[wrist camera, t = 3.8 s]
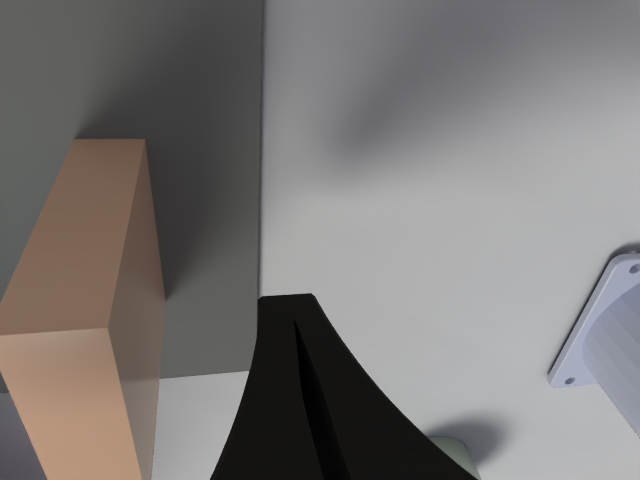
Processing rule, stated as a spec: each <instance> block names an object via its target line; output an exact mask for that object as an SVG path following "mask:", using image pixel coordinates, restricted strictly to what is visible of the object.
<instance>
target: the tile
mask: <svg viewBox="0 0 640 480" xmlns="http://www.w3.org/2000/svg"><path fill="white" fill-rule="evenodd" d="M165 303H166V300H165V292H164V285H163V277H162V269H161V261H160V253H159V245H158V237H157V229H156V222H155V214H154V206H153V198H152V190H151V182H150V174H149V166H148V159H147V151H146V143H145V139H73V141H72V143H71V146H70V148H69V150H68V152H67V155H66V157H65V159H64V161H63V164H62V166H61V168H60V170H59V173H58V175H57V177H56V179H55V181H54V184H53V186H52V188H51V190H50V193H49V195H48V197H47V199H46V202H45V204H44V206H43V208H42V211H41V213H40V215H39V217H38V220H37V222H36V224H35V226H34V228H33V231H32V233H31V235H30V237H29V240H28V242H27V244H26V246H25V249H24V251H23V253H22V255H21V258H20V260H19V262H18V264H17V266H16V269H15V271H14V273H13V275H12V278H11V280H10V282H9V284H8V287H7V289H6V291H5V293H4V296H3V298H2V300H1V302H0V372H1V374H2V376H3V378H4V381H5V383H6V385H7V388H8V390H9V392H10V395H11V397H12V399H13V401H14V404H15V406H16V408H17V411H18V413H19V415H20V417H21V420H22V422H23V424H24V427H25V429H26V431H27V434H28V436H29V438H30V440H31V443H32V445H33V447H34V450H35V452H36V454H37V456H38V459H39V461H40V463H41V466H42V468H43V470H44V473H45V475H46V477H47V479H48V480H151V477H152V465H153V452H154V440H155V428H156V415H157V403H158V390H159V378H160V365H161V353H162V341H163V328H164V316H165Z"/></svg>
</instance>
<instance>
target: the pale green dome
mask: <svg viewBox="0 0 640 480" xmlns="http://www.w3.org/2000/svg"><path fill="white" fill-rule="evenodd" d="M428 438H429V439H430V440H431V441H432V442H433V443H435V444H436V445H437V446H438V447H439V448H440V449H441V450H443V451H444V452H445V453H446V454H447V455H448V456H449V457H451V458H452V459H453V460H454V461H455V462H456V463H458V464H459V465H460V466H461V467H463V468H464V469H465V470H466V471H468V472H469V473H470V474H472V475H473V476H474V477H475V478H477V479H478V480H481V477H480V475H479V473H478V471H477V468H476V466H475V464H474V462H473V459H472V457H471V455H470V453H469V451H468V448H467V447H466V445H465V444H464V443H462V442H461V441H459V440H457V439H454V438H449V437H428Z"/></svg>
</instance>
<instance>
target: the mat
mask: <svg viewBox="0 0 640 480" xmlns="http://www.w3.org/2000/svg"><path fill="white" fill-rule="evenodd" d="M261 55H262V0H0V302H1V300H2V298H3V296H4V293H5V291H6V289H7V287H8V284H9V282H10V280H11V278H12V275H13V273H14V271H15V269H16V266H17V264H18V262H19V260H20V258H21V255H22V253H23V251H24V249H25V246H26V244H27V242H28V240H29V237H30V235H31V233H32V231H33V228H34V226H35V224H36V222H37V220H38V217H39V215H40V213H41V211H42V208H43V206H44V204H45V202H46V199H47V197H48V195H49V193H50V190H51V188H52V186H53V184H54V181H55V179H56V177H57V175H58V173H59V170H60V168H61V166H62V164H63V161H64V159H65V157H66V155H67V152H68V150H69V148H70V146H71V143H72V141H73V139H145V143H146V151H147V159H148V166H149V174H150V182H151V190H152V198H153V206H154V214H155V222H156V229H157V237H158V245H159V253H160V261H161V269H162V277H163V285H164V292H165V300H166V303H165V316H164V328H163V341H162V353H161V365H160V378H159V379H163V378H174V377H185V376H196V375H207V374H218V373H230V372H241V371H250V368H251V363H252V358H253V353H254V349H255V344H256V338H257V284H258V227H259V170H260V112H261ZM6 392H9V390H8V388H7V385H6V383H5V381H4V378H3V376H2V374H1V372H0V393H6Z"/></svg>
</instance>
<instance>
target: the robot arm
mask: <svg viewBox="0 0 640 480" xmlns="http://www.w3.org/2000/svg"><path fill="white" fill-rule="evenodd" d="M547 381H548V382H549V384H550V386H551V387H553V388H561V387H571V386H580V385H589V384H599V385H600V386H601V388H602V389H603V390H604V392H605V393H606V394H607V396H608V397H609V398H610V400H611V401H612V402H613V404H614V405H615V406H616V408H617V409H618V410H619V412H620V413H621V414H622V416H623V417H624V418H625V420H626V421H627V422H628V424H629V425H630V426H631V428H632V429H633V430H634V432H635V433H636V434H637V436H638V437H639V438H640V253H632V254H621V255H618V256H616V257H615V258H613V259H612V260H611V261H610V263H609V264H608V266H607V268H606V270H605V271H604V273H603V275H602V277H601V279H600V281H599V283H598V284H597V286H596V288H595V290H594V292H593V294H592V296H591V297H590V299H589V301H588V303H587V305H586V307H585V309H584V310H583V312H582V314H581V316H580V318H579V320H578V322H577V323H576V325H575V327H574V329H573V331H572V333H571V334H570V336H569V338H568V340H567V342H566V344H565V346H564V347H563V349H562V351H561V353H560V355H559V357H558V359H557V360H556V362H555V364H554V366H553V368H552V370H551V372H550V373H549V375H548V378H547ZM210 480H478V479H477V478H475V477H474V476H473V475H472V474H470V473H469V472H468V471H466V470H465V469H464V468H463V467H461V466H460V465H459V464H458V463H456V462H455V461H454V460H453V459H452V458H451V457H449V456H448V455H447V454H446V453H445V452H444V451H443V450H441V449H440V448H439V447H438V446H437V445H436V444H435V443H433V442H432V441H431V440H430V439H429V438H428V437H426V436H425V435H424V434H423V433H422V432H421V431H420V430H419V429H418V428H417V427H416V426H415V425H414V424H413V423H412V422H411V421H410V420H409V419H408V418H407V417H406V416H405V415H404V414H403V413H402V412H401V411H400V410H399V409H398V408H397V407H396V406H395V405H394V404H393V403H392V402H391V401H390V400H389V398H388V397H387V396H386V395H385V394H384V393H383V392H382V391H381V389H380V388H379V387H378V386H377V385H376V384H375V382H374V381H373V380H372V379H371V378H370V376H369V375H368V374H367V373H366V372H365V370H364V369H363V368H362V366H361V365H360V364H359V363H358V361H357V360H356V359H355V357H354V356H353V354H352V353H351V352H350V350H349V349H348V348H347V346H346V345H345V344H344V342H343V341H342V339H341V338H340V336H339V335H338V333H337V332H336V330H335V329H334V327H333V326H332V324H331V323H330V321H329V320H328V318H327V316H326V315H325V313H324V311H323V310H322V308H321V306H320V305H319V303H318V301H317V299H316V297H315V296H314V295H313V294H312V293H309V294H293V295H277V296H262V297H261V298H260V299H258V302H257V338H256V344H255V349H254V353H253V358H252V363H251V368H250V371H249V375H248V379H247V382H246V386H245V389H244V393H243V396H242V399H241V402H240V405H239V409H238V412H237V414H236V417H235V420H234V423H233V425H232V428H231V431H230V434H229V436H228V439H227V441H226V443H225V446H224V448H223V451H222V453H221V456H220V458H219V461H218V463H217V465H216V467H215V470H214V472H213V474H212V476H211V478H210Z"/></svg>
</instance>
